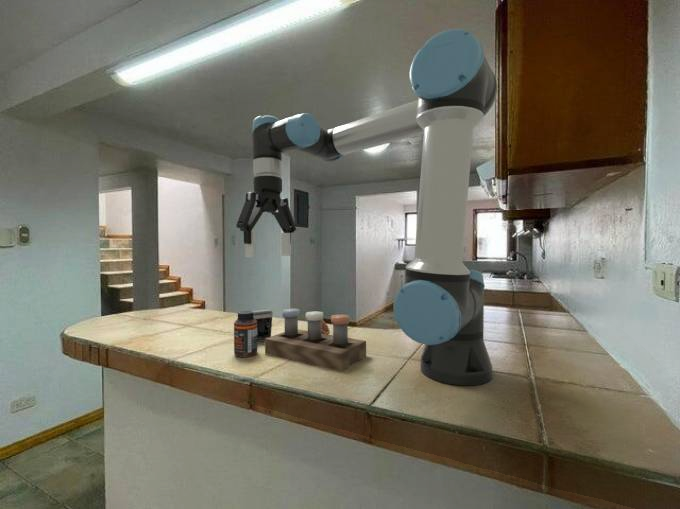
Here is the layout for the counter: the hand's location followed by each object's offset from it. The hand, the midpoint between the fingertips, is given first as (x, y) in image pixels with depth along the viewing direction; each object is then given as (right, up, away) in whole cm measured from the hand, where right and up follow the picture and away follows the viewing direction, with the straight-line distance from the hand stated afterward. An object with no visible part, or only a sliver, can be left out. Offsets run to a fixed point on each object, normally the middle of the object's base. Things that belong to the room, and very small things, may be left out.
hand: (269, 256), depth 88 cm
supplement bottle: (-6, -26, -2) cm, 27 cm away
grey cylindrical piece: (+6, -21, +2) cm, 22 cm away
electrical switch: (-6, -26, +11) cm, 29 cm away
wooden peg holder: (+12, -26, -3) cm, 29 cm away
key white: (+12, -21, -3) cm, 25 cm away
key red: (+19, -21, -7) cm, 29 cm away
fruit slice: (+12, -26, +14) cm, 32 cm away
